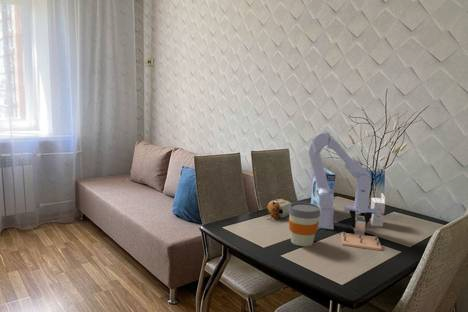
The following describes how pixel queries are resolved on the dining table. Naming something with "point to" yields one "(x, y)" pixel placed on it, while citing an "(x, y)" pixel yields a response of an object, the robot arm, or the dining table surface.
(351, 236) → the wooden peg board
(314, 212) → the reusable coffee cup
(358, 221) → the drive
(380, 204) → the ink cartridge box
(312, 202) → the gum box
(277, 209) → the nautilus
